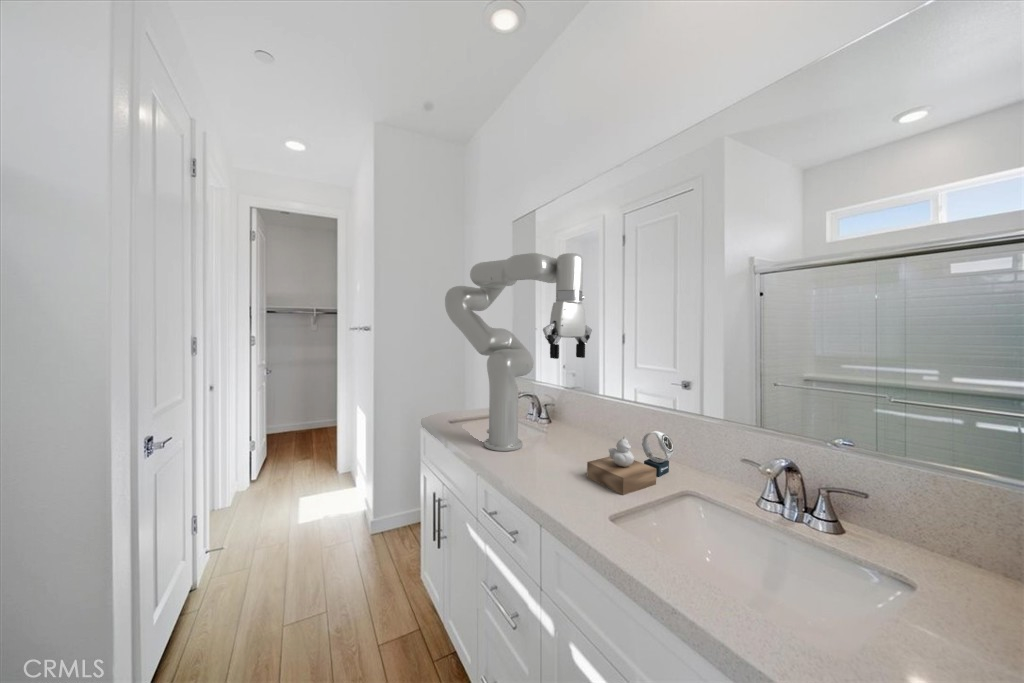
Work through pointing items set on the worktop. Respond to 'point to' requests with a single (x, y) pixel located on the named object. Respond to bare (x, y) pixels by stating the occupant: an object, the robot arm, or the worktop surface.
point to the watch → (655, 462)
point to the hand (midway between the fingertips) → (567, 357)
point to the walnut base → (621, 475)
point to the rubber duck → (622, 453)
